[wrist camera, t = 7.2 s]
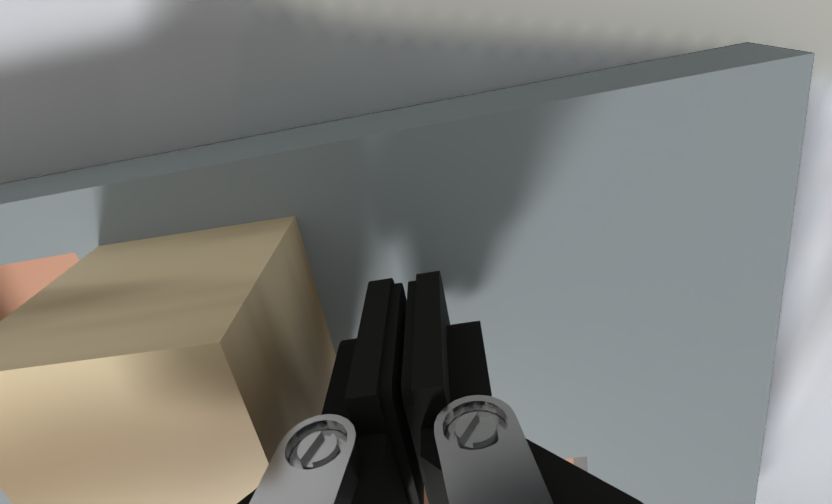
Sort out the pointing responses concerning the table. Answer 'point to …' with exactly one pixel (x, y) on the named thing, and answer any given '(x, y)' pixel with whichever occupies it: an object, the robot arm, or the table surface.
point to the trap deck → (522, 244)
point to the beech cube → (163, 369)
